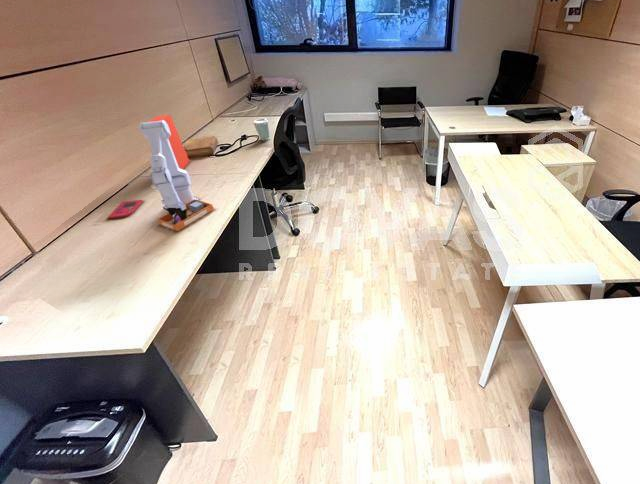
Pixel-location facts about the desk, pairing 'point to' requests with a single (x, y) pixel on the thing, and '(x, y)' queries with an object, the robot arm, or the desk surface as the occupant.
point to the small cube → (196, 206)
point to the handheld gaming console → (125, 209)
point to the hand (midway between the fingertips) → (180, 218)
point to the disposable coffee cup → (262, 128)
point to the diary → (200, 146)
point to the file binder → (174, 141)
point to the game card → (176, 219)
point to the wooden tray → (168, 219)
